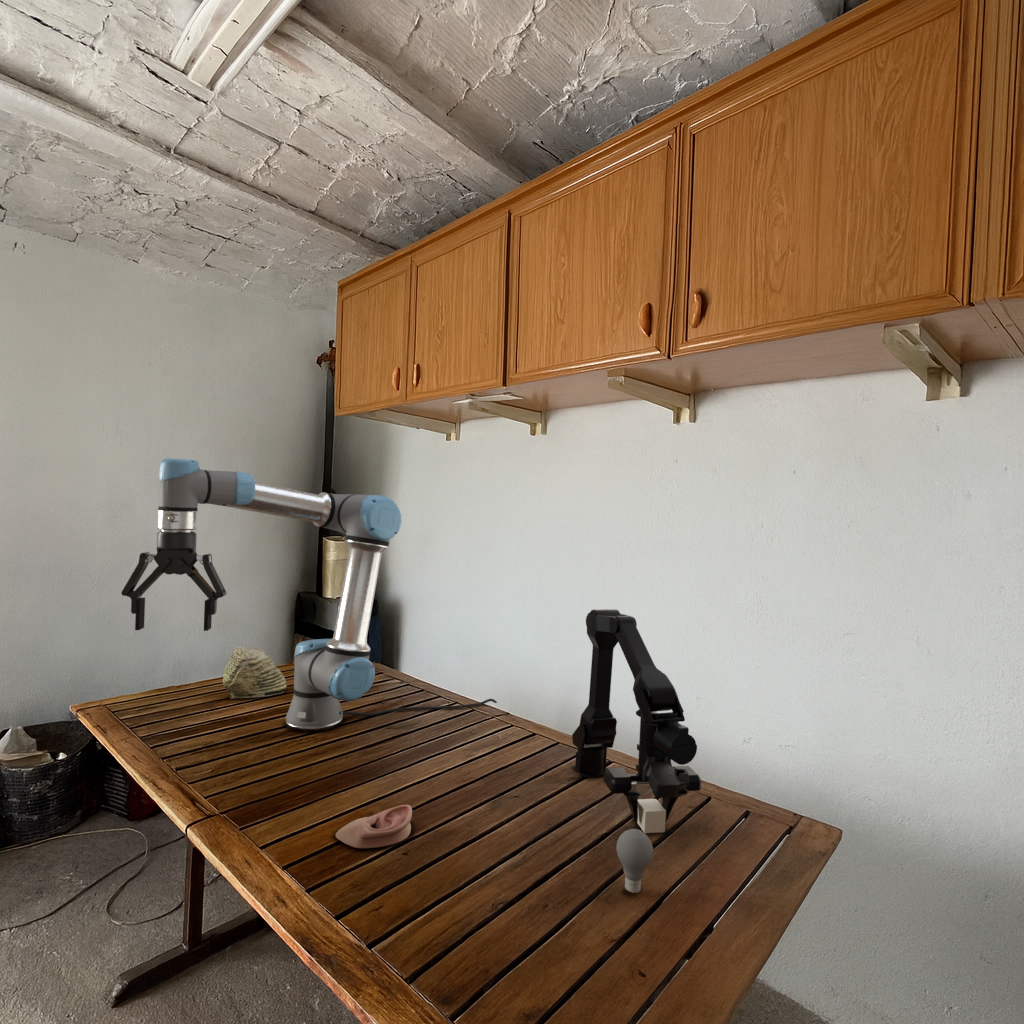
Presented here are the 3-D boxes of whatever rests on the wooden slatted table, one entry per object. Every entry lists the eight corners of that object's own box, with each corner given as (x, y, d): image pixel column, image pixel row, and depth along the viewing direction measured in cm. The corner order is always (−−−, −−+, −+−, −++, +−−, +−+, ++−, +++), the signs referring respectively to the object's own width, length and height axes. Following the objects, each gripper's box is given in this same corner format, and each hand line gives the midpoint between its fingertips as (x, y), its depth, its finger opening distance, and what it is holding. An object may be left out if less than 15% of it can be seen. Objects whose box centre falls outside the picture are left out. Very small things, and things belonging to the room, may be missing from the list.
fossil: (218, 695, 195) (220, 647, 195) (278, 685, 208) (279, 640, 207) (228, 703, 189) (230, 653, 188) (289, 692, 201) (290, 645, 201)
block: (644, 833, 125) (645, 811, 125) (635, 820, 130) (636, 799, 130) (664, 832, 125) (666, 810, 125) (655, 819, 130) (656, 798, 130)
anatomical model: (328, 822, 116) (356, 794, 127) (327, 843, 116) (355, 813, 127) (396, 832, 113) (418, 803, 124) (395, 855, 113) (418, 823, 124)
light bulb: (610, 879, 108) (613, 822, 108) (644, 879, 109) (647, 822, 109) (619, 902, 102) (622, 840, 102) (655, 901, 103) (658, 840, 103)
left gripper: (105, 529, 130) (102, 632, 131) (233, 533, 134) (230, 633, 135) (121, 527, 138) (118, 625, 138) (242, 531, 142) (239, 626, 142)
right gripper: (622, 762, 118) (618, 845, 118) (716, 759, 121) (712, 840, 121) (604, 739, 129) (600, 815, 129) (690, 737, 132) (686, 811, 132)
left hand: (173, 629), depth 136 cm, fingers open, 13 cm apart
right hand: (650, 821), depth 128 cm, fingers open, 6 cm apart
